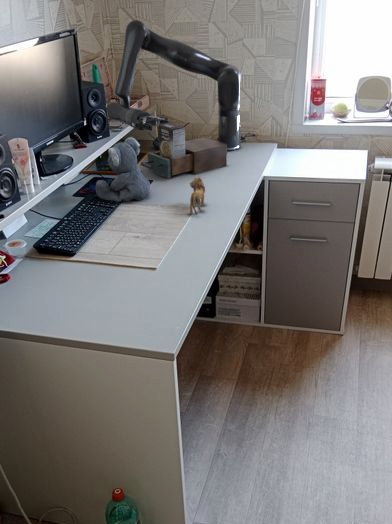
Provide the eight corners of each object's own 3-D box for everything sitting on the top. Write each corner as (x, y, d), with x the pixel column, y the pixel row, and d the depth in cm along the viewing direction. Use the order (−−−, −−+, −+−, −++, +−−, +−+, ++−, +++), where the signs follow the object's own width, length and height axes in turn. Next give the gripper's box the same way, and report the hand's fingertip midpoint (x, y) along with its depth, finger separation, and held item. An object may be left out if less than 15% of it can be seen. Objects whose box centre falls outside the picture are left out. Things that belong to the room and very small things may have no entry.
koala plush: (121, 185, 215) (116, 131, 204) (161, 192, 208) (158, 137, 196) (93, 199, 203) (86, 143, 192) (134, 207, 195) (129, 150, 184)
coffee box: (159, 166, 227) (157, 124, 218) (172, 163, 230) (170, 121, 221) (173, 171, 221) (171, 128, 212) (186, 168, 224) (185, 125, 215)
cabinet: (194, 174, 224) (194, 151, 219) (172, 165, 234) (172, 144, 229) (226, 165, 233) (226, 144, 228) (204, 158, 242) (204, 137, 237)
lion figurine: (190, 200, 199) (189, 175, 194) (205, 200, 199) (204, 175, 194) (189, 216, 187) (188, 189, 182) (205, 216, 187) (205, 189, 182)
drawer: (155, 181, 215) (154, 163, 211) (136, 173, 224) (135, 155, 220) (199, 169, 226) (199, 152, 222) (179, 162, 235) (179, 145, 231)
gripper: (122, 111, 227) (144, 118, 217) (151, 106, 234) (174, 113, 224) (124, 131, 231) (146, 139, 221) (152, 125, 239) (175, 132, 228)
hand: (160, 125), depth 222 cm, fingers open, 8 cm apart
